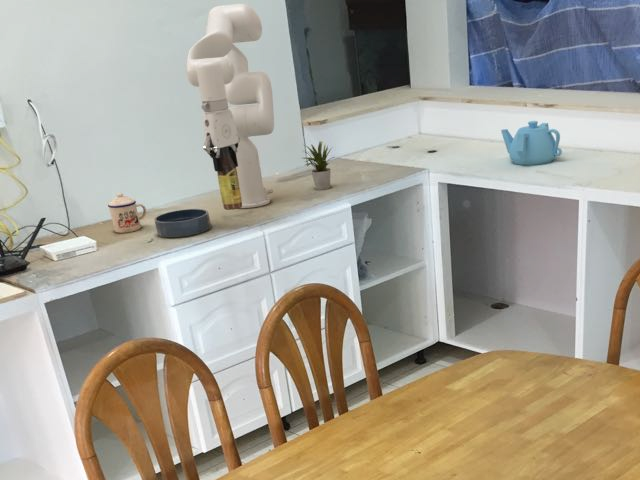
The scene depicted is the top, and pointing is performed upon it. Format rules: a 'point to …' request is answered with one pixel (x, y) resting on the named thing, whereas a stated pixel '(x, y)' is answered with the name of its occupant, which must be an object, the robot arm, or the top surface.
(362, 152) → the top surface
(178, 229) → the bowl
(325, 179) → the house plant
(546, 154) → the teapot
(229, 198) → the sauce bottle
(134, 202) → the teacup with lid
